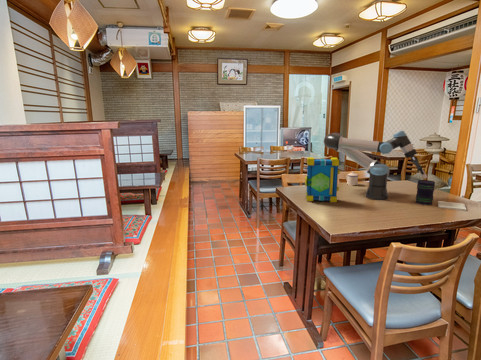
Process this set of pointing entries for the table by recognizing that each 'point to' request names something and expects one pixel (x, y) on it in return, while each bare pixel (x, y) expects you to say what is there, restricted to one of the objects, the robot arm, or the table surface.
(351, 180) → the teacup with lid
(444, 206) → the placemat
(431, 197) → the rusty oil drum
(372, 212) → the table surface
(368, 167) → the robot arm
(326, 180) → the decorative book
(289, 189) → the table surface
